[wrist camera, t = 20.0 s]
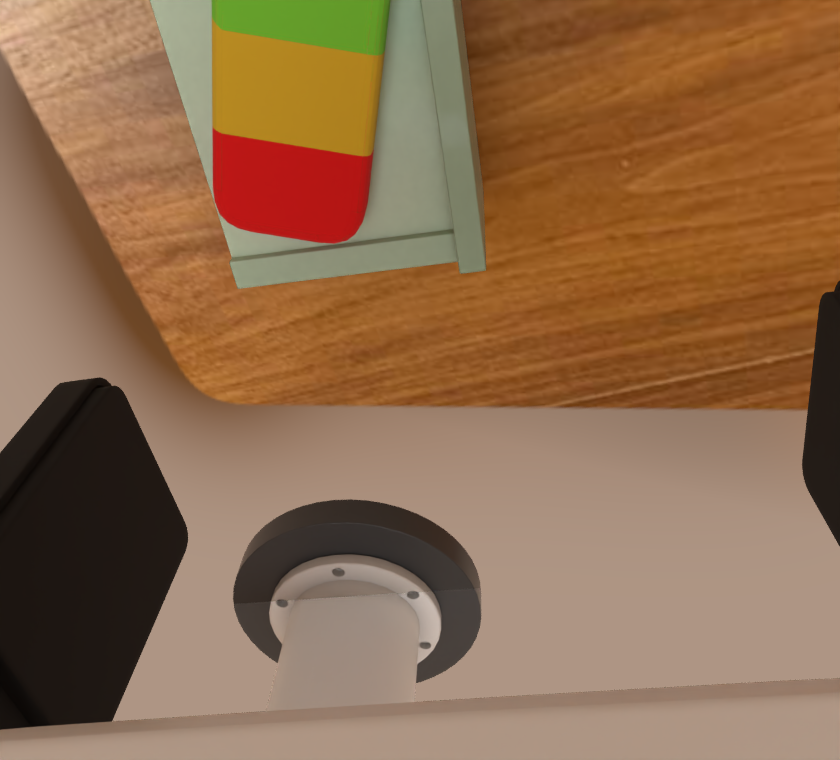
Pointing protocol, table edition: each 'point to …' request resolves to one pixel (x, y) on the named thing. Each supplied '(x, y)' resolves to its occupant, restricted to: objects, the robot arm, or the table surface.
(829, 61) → the table surface
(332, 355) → the table surface
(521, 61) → the table surface
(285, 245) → the shelf
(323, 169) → the popsicle
